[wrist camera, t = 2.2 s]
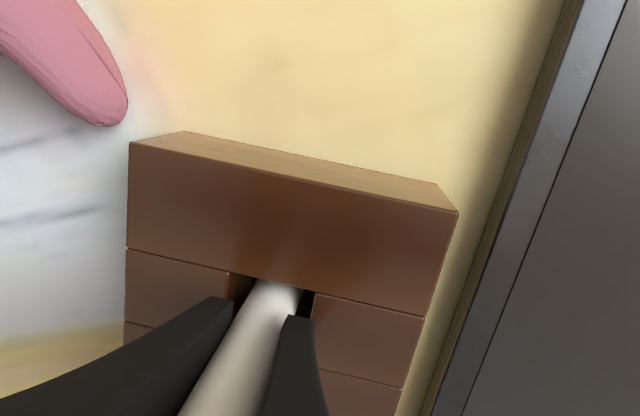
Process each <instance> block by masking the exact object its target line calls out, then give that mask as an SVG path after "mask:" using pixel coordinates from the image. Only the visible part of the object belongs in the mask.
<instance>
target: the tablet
mask: <svg viewBox="0 0 640 416" xmlns="http://www.w3.org/2000/svg"><path fill="white" fill-rule="evenodd" d="M419 416H640V0H566V1H565V3H564V6H563V9H562V12H561V15H560V18H559V20H558V23H557V26H556V29H555V32H554V35H553V38H552V40H551V43H550V46H549V49H548V52H547V55H546V57H545V60H544V63H543V66H542V69H541V72H540V74H539V77H538V80H537V83H536V86H535V89H534V91H533V94H532V97H531V100H530V103H529V106H528V108H527V111H526V114H525V117H524V120H523V123H522V125H521V128H520V131H519V134H518V137H517V140H516V143H515V145H514V148H513V151H512V154H511V157H510V160H509V162H508V165H507V168H506V171H505V174H504V177H503V179H502V182H501V185H500V188H499V191H498V194H497V196H496V199H495V202H494V205H493V208H492V211H491V213H490V216H489V219H488V222H487V225H486V228H485V231H484V233H483V236H482V239H481V242H480V245H479V248H478V250H477V253H476V256H475V259H474V262H473V265H472V267H471V270H470V273H469V276H468V279H467V282H466V284H465V287H464V290H463V293H462V296H461V299H460V301H459V304H458V307H457V310H456V313H455V316H454V319H453V321H452V324H451V327H450V330H449V333H448V336H447V338H446V341H445V344H444V347H443V350H442V353H441V355H440V358H439V361H438V364H437V367H436V370H435V372H434V375H433V378H432V381H431V384H430V387H429V389H428V392H427V395H426V398H425V401H424V404H423V407H422V409H421V412H420V415H419Z"/></svg>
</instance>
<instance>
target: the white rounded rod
mask: <svg viewBox="0 0 640 416" xmlns="http://www.w3.org/2000/svg"><path fill="white" fill-rule="evenodd" d="M302 292H303V288H298V287H294V286H290V285H285V284H281V283H277V282H272V281H268V280H264V279H259V278H258V280H257V282H256V283H255V285H254V287H253V288H252V290H251V292H250V294H249V295H248V297H247V299H246V300H245V302H244V304H243V305H242V307H241V309H240V310H239V312H238V314H237V315H236V317H235V319H234V321H233V322H232V324H231V326H230V327H229V329H228V331H227V332H226V334H225V336H224V337H223V339H222V341H221V342H220V344H219V346H218V347H217V349H216V351H215V353H214V354H213V356H212V358H211V359H210V361H209V363H208V364H207V366H206V368H205V369H204V371H203V373H202V374H201V376H200V378H199V380H198V381H197V383H196V385H195V386H194V388H193V390H192V391H191V393H190V395H189V396H188V398H187V400H186V401H185V403H184V405H183V406H182V408H181V410H180V412H179V413H178V415H177V416H259V415H260V412H261V410H262V407H263V404H264V400H265V397H266V393H267V389H268V385H269V380H270V376H271V371H272V367H273V362H274V358H275V354H276V349H277V345H278V340H279V336H280V331H281V328H282V326H283V324H284V321H285V319H286V317H287V315H288V314H290V315H295V313H296V310H297V307H298V304H299V301H300V298H301V295H302Z"/></svg>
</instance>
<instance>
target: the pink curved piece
mask: <svg viewBox="0 0 640 416" xmlns="http://www.w3.org/2000/svg"><path fill="white" fill-rule="evenodd" d="M0 55H7V56H8V57H10V58H11V59H12V60H13V61H14V62H16V63H17V64H18V65H19V66H20V67H21V68H22V69H23V70H25V71H26V72H27V73H28V74H29V75H30V76H31V77H32V78H33V79H34V80H35V81H36V82H37V83H38V84H39V85H40V86H41V87H42V88H43V89H44V90H45V91H47V92H48V93H49V94H50V95H51V96H52V97H53V98H54V99H55V100H56V101H58V102H59V103H60V104H61V105H62V106H63V107H65V108H66V109H67V110H68V111H69V112H71V113H73V114H75V115H76V116H78V117H80V118H82V119H83V120H85V121H87V122H89V123H91V124H93V125H96V126H102V127H109V126H114V125H116V124H118V123H120V122H121V121H122V119H123V118H124V116H125V114H126V111H127V108H128V99H127V93H126V88H125V85H124V82H123V79H122V76H121V73H120V71H119V68H118V66H117V64H116V62H115V60H114V57H113V55H112V54H111V52H110V50H109V48H108V47H107V45H106V43H105V41H104V40H103V38H102V36H101V35H100V33H99V32H98V30H97V29H96V27H95V26H94V25H93V23H92V22H91V21H90V19H89V18H88V16H87V15H86V14H85V12H84V11H83V10H82V8H81V7H80V6H79V4H78V3H77V1H76V0H0Z"/></svg>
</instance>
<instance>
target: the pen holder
mask: <svg viewBox="0 0 640 416" xmlns="http://www.w3.org/2000/svg"><path fill="white" fill-rule="evenodd" d="M458 216H459V212H458V211H457V210H456V208H455V207H454V206H453V205H452V203H451V202H450V201H449V199H448V198H447V197H446V195H445V194H444V193H443V192H442V190H441V189H440V188H439V186H438V185H437V184H434V183H429V182H424V181H420V180H415V179H410V178H405V177H401V176H396V175H391V174H386V173H382V172H377V171H372V170H367V169H363V168H358V167H353V166H348V165H344V164H339V163H334V162H329V161H325V160H320V159H315V158H310V157H306V156H301V155H296V154H291V153H287V152H282V151H277V150H272V149H268V148H263V147H258V146H253V145H249V144H244V143H239V142H234V141H230V140H225V139H220V138H215V137H211V136H206V135H201V134H196V133H192V132H187V131H183V132H178V133H173V134H168V135H163V136H158V137H153V138H148V139H143V140H138V141H133V142H130V143H129V161H128V199H127V236H126V246H127V250H126V268H125V306H124V320H125V322H124V337H123V346H124V345H126V344H128V343H130V342H132V341H134V340H136V339H138V338H140V337H141V336H143V335H145V334H147V333H149V332H150V331H152V330H154V329H156V328H157V327H159V326H161V325H163V324H164V323H166V322H168V321H169V320H171V319H173V318H174V317H176V316H178V315H179V314H181V313H183V312H184V311H186V310H188V309H189V308H191V307H193V306H194V305H196V304H198V303H199V302H201V301H203V300H205V299H206V298H208V297H210V296H214V297H219V298H223V299H227V300H231V301H234V303H233V311H232V318H231V324H232V322H233V321H234V319H235V317H236V315H237V314H238V312H239V310H240V309H241V307H242V305H243V304H244V302H245V300H246V299H247V297H248V295H249V294H250V291H251V284H252V277H255V278H259V279H264V280H268V281H272V282H277V283H281V284H285V285H290V286H294V287H298V288H303V289H307V290H311V291H315V297H314V301H313V306H312V308H309V307H305V306H301V305H298V307H297V310H296V313H295V316H299V317H303V318H307V319H312V321H313V322H314V324H315V328H314V341H315V351H316V359H317V365H318V370H319V375H320V380H321V384H322V389H323V393H324V397H325V401H326V405H327V408H328V412H329V415H330V416H394V414H395V411H396V408H397V405H398V402H399V399H400V396H401V393H402V387H403V386H404V383H405V380H406V377H407V374H408V371H409V367H410V364H411V361H412V358H413V355H414V352H415V349H416V346H417V343H418V340H419V337H420V334H421V330H422V327H423V324H424V321H425V316H426V314H427V312H428V309H429V306H430V302H431V299H432V296H433V293H434V290H435V287H436V284H437V281H438V278H439V275H440V272H441V269H442V265H443V262H444V259H445V256H446V253H447V250H448V247H449V244H450V241H451V238H452V235H453V232H454V228H455V225H456V222H457V219H458Z"/></svg>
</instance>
